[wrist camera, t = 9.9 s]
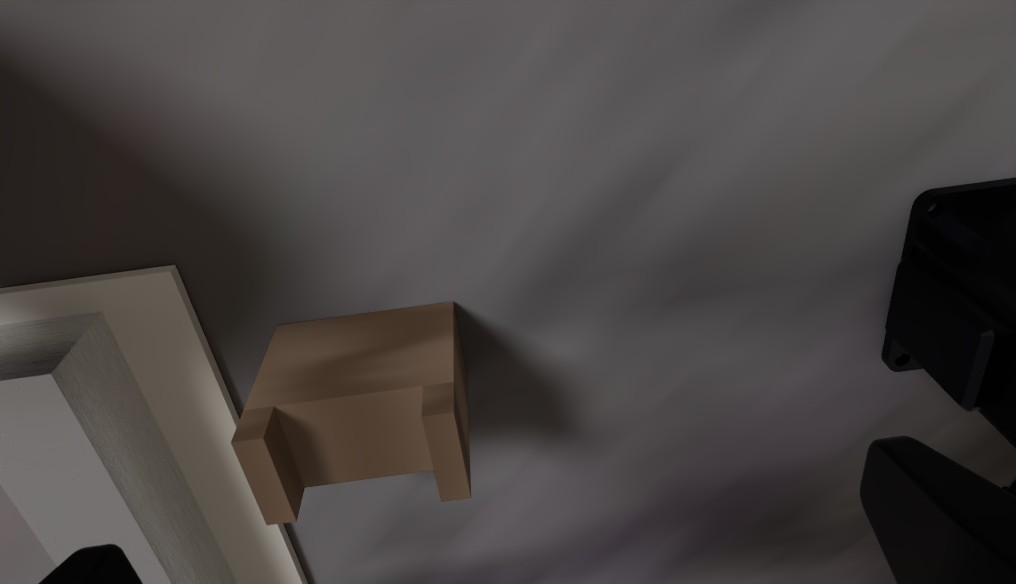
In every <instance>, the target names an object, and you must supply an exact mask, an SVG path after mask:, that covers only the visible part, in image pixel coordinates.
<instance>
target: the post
mask: <svg viewBox="0 0 1016 584" xmlns="http://www.w3.org/2000/svg"><path fill="white" fill-rule="evenodd" d="M231 445H232V447H233V449H234V451H235V454H236V456H237V458H238V461H239V463H240V465H241V468H242V470H243V472H244V474H245V477H246V479H247V481H248V484H249V486H250V488H251V491H252V493H253V495H254V497H255V500H256V502H257V504H258V507H259V509H260V511H261V514H262V516H263V518H264V520H265V523H266V525H274V524H282V523H289V522H296V521H297V517H298V513H299V509H300V505H301V501H302V497H303V492H304V488H305V487H313V486H320V485H328V484H335V483H342V482H350V481H357V480H364V479H372V478H379V477H386V476H394V475H401V474H408V473H416V472H423V471H431V470H434V473H435V477H436V481H437V485H438V490H439V494H440V498H441V502H443V501H451V500H458V499H465V498H471V481H470V451H469V421H468V391H467V375H466V369H465V364H464V358H463V353H462V347H461V342H460V336H459V331H458V325H457V320H456V315H455V309H454V304H453V302H446V303H438V304H431V305H424V306H416V307H409V308H401V309H394V310H387V311H379V312H372V313H364V314H357V315H350V316H342V317H335V318H327V319H320V320H313V321H305V322H298V323H291V324H283V325H277V326H276V329H275V331H274V334H273V336H272V339H271V341H270V344H269V346H268V349H267V351H266V354H265V357H264V359H263V362H262V364H261V367H260V369H259V372H258V374H257V377H256V379H255V382H254V385H253V387H252V390H251V392H250V395H249V397H248V400H247V402H246V405H245V407H244V410H243V413H242V415H241V418H240V420H239V423H238V425H237V428H236V430H235V433H234V435H233V438H232V440H231Z"/></svg>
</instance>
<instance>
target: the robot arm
mask: <svg viewBox="0 0 1016 584" xmlns="http://www.w3.org/2000/svg"><path fill="white" fill-rule="evenodd" d="M934 203H937V205H936V207H935V208H934V209H933V210H932V211H929V212H928V210H929V208H930V207H931V206H932V205H933V204H934ZM885 328H886V330H887V331H886V335H885V340H884V345H883V350H882V360H883V362H884V363H885V364H886V365H887V366H888V368H889V369H890V370H892V371H894V372H901V371H909V370H916V369H924V370H925V371H926V372H927V373H928V374H929V375H930V376H931V377H932V378H933V379H934V380H935V381H936V382H937V383H938V384H939V385H940V386H941V387H942V388H943V389H944V390H945V391H946V392H947V393H948V394H949V395H950V396H951V397H952V398H953V399H954V400H955V401H956V402H957V403H958V404H959V405H960V406H961V407H962V408H963V409H965V410H966V411H974V410H978V411H979V412H980V413H981V414H982V415H983V416H984V417H985V418H986V419H987V420H988V421H989V422H990V423H991V424H992V425H993V426H994V427H995V428H996V429H997V430H998V431H999V432H1000V433H1001V434H1002V435H1003V436H1004V437H1005V438H1006V439H1007V440H1008V441H1009V442H1010V443H1011V444H1012V445H1013V446H1014V447H1015V448H1016V178H1010V179H1002V180H995V181H987V182H980V183H972V184H965V185H958V186H950V187H943V188H935V189H930V190H927V191H925V192H923V193H922V194H920V195H919V196H918V197H917V198H916V200H915V201H914V203H913V206H912V210H911V214H910V219H909V224H908V229H907V234H906V239H905V243H904V248H903V253H902V258H901V262H900V263H899V265H898V268H897V273H896V278H895V283H894V287H893V292H892V297H891V302H890V307H889V312H888V317H887V322H886V327H885ZM899 355H901V356H900V357H899V358H897V357H898V356H899ZM860 497H861V502H862V505H863V508H864V510H865V513H866V515H867V517H868V519H869V522H870V524H871V526H872V528H873V530H874V533H875V535H876V537H877V539H878V542H879V544H880V546H881V548H882V551H883V553H884V555H885V557H886V560H887V562H888V564H889V566H890V569H891V571H892V573H893V575H894V577H895V580H896V582H897V584H1016V478H1015V479H1014V480H1013V482H1012V483H1011V484H1010V485H1009V486H1008V487H1002V488H1000V487H999V486H997V485H995V484H993V483H992V482H990V481H988V480H986V479H984V478H983V477H981V476H979V475H977V474H976V473H974V472H972V471H970V470H969V469H967V468H965V467H963V466H962V465H960V464H958V463H956V462H955V461H953V460H951V459H949V458H948V457H946V456H944V455H942V454H940V453H939V452H937V451H935V450H933V449H932V448H930V447H928V446H926V445H925V444H923V443H921V442H919V441H918V440H916V439H914V438H911V437H908V436H898V437H891V438H883V439H877V440H874V441H873V442H872V443H871V444H870V446H869V448H868V452H867V457H866V462H865V466H864V471H863V476H862V480H861V485H860ZM39 584H143V583H142V581H141V579H140V578H139V576H138V574H137V573H136V571H135V570H134V568H133V566H132V565H131V563H130V561H129V560H128V558H127V556H126V555H125V553H124V551H123V550H122V549H121V548H120V547H119V546H117V545H115V544H105V545H97V546H90V547H84V548H81V549H79V550H77V551H75V552H74V553H73V554H71V555H70V556H69V557H68V558H67V559H66V560H64V561H63V562H62V563H61V564H60V565H59V566H58V567H57V568H55V569H54V570H53V571H52V572H51V573H50V574H49V575H48V576H47V577H45V578H44V579H43V580H42V581H41V582H40V583H39Z"/></svg>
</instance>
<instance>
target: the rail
mask: <svg viewBox="0 0 1016 584" xmlns="http://www.w3.org/2000/svg"><path fill="white" fill-rule="evenodd" d="M0 485H1V486H2V488H3V489H4V491H5V492H6V494H7V495H8V496H9V498H10V499H11V501H12V502H13V504H14V505H15V506H16V508H17V509H18V511H19V512H20V514H21V515H22V517H23V518H24V519H25V521H26V522H27V524H28V525H29V527H30V528H31V529H32V531H33V532H34V534H35V535H36V537H37V538H38V539H39V541H40V542H41V544H42V545H43V547H44V548H45V549H46V551H47V552H48V554H49V555H50V557H51V558H52V560H53V561H54V562H55V564H56V565H57V567H58V566H59V565H60V564H61V563H62V562H63V561H64V560H66V559H67V558H68V557H69V556H70V555H71V554H73V553H74V552H75V551H77V550H79V549H81V548H84V547H90V546H97V545H105V544H115V545H117V546H119V547H120V548H121V549H122V550H123V551H124V553H125V555H126V556H127V558H128V560H129V561H130V563H131V565H132V566H133V568H134V570H135V571H136V573H137V574H138V576H139V578H140V579H141V581H142V583H143V584H238V583H237V581H236V579H235V577H234V575H233V573H232V571H231V569H230V567H229V565H228V563H227V561H226V559H225V557H224V555H223V553H222V551H221V549H220V547H219V545H218V543H217V541H216V539H215V537H214V535H213V533H212V531H211V529H210V527H209V525H208V523H207V521H206V519H205V517H204V515H203V513H202V511H201V509H200V507H199V505H198V503H197V501H196V499H195V497H194V495H193V493H192V491H191V489H190V487H189V485H188V483H187V481H186V479H185V477H184V475H183V473H182V471H181V469H180V467H179V465H178V463H177V461H176V459H175V457H174V455H173V453H172V451H171V449H170V447H169V445H168V443H167V441H166V439H165V437H164V435H163V433H162V431H161V429H160V427H159V425H158V423H157V421H156V419H155V417H154V415H153V413H152V411H151V409H150V407H149V405H148V403H147V401H146V399H145V397H144V395H143V393H142V391H141V389H140V387H139V385H138V383H137V381H136V379H135V377H134V375H133V373H132V371H131V369H130V367H129V365H128V363H127V361H126V359H125V357H124V355H123V353H122V351H121V349H120V347H119V345H118V343H117V341H116V339H115V336H114V334H113V332H112V330H111V328H110V326H109V324H108V322H107V320H106V318H105V316H104V314H103V312H102V311H101V312H93V313H86V314H78V315H71V316H63V317H56V318H48V319H41V320H34V321H26V322H19V323H11V324H4V325H0Z"/></svg>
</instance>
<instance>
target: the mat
mask: <svg viewBox="0 0 1016 584" xmlns="http://www.w3.org/2000/svg"><path fill="white" fill-rule="evenodd" d="M101 311H102V312H103V314H104V316H105V318H106V320H107V322H108V324H109V326H110V328H111V330H112V332H113V334H114V336H115V339H116V341H117V343H118V345H119V347H120V349H121V351H122V353H123V355H124V357H125V359H126V361H127V363H128V365H129V367H130V369H131V371H132V373H133V375H134V377H135V379H136V381H137V383H138V385H139V387H140V389H141V391H142V393H143V395H144V397H145V399H146V401H147V403H148V405H149V407H150V409H151V411H152V413H153V415H154V417H155V419H156V421H157V423H158V425H159V427H160V429H161V431H162V433H163V435H164V437H165V439H166V441H167V443H168V445H169V447H170V449H171V451H172V453H173V455H174V457H175V459H176V461H177V463H178V465H179V467H180V469H181V471H182V473H183V475H184V477H185V479H186V481H187V483H188V485H189V487H190V489H191V491H192V493H193V495H194V497H195V499H196V501H197V503H198V505H199V507H200V509H201V511H202V513H203V515H204V517H205V519H206V521H207V523H208V525H209V527H210V529H211V531H212V533H213V535H214V537H215V539H216V541H217V543H218V545H219V547H220V549H221V551H222V553H223V555H224V557H225V559H226V561H227V563H228V565H229V567H230V569H231V571H232V573H233V575H234V577H235V579H236V581H237V583H238V584H308V582H307V580H306V578H305V575H304V573H303V570H302V568H301V566H300V563H299V561H298V558H297V556H296V554H295V551H294V549H293V546H292V544H291V542H290V539H289V537H288V534H287V532H286V530H285V527H284V525H283V523H282V524H274V525H266V523H265V520H264V518H263V516H262V514H261V511H260V509H259V507H258V504H257V502H256V500H255V497H254V495H253V493H252V491H251V488H250V486H249V484H248V481H247V479H246V477H245V474H244V472H243V470H242V468H241V465H240V463H239V461H238V458H237V456H236V454H235V451H234V449H233V447H232V445H231V440H232V438H233V435H234V433H235V430H236V428H237V425H238V423H239V420H240V419H239V417H238V414H237V412H236V409H235V407H234V405H233V402H232V400H231V397H230V395H229V393H228V390H227V388H226V385H225V383H224V381H223V378H222V376H221V373H220V371H219V369H218V366H217V364H216V361H215V359H214V357H213V354H212V352H211V349H210V347H209V345H208V342H207V340H206V337H205V335H204V333H203V330H202V328H201V325H200V323H199V321H198V318H197V316H196V313H195V311H194V309H193V306H192V304H191V301H190V299H189V297H188V294H187V292H186V289H185V287H184V285H183V282H182V280H181V277H180V275H179V272H178V270H177V268H176V265H169V266H162V267H155V268H147V269H140V270H132V271H125V272H118V273H110V274H103V275H95V276H88V277H81V278H73V279H66V280H58V281H51V282H43V283H36V284H29V285H21V286H14V287H6V288H0V325H4V324H11V323H19V322H26V321H34V320H41V319H48V318H56V317H63V316H71V315H78V314H86V313H93V312H101Z"/></svg>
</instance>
